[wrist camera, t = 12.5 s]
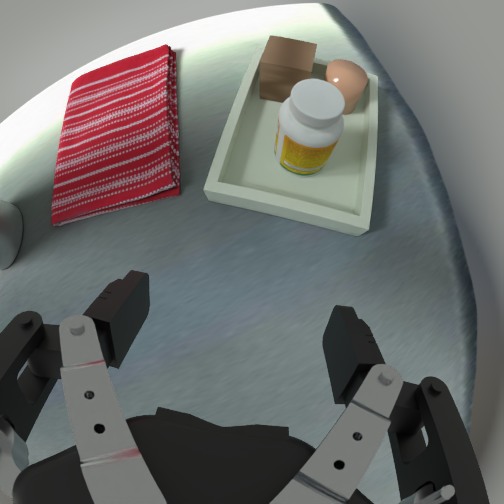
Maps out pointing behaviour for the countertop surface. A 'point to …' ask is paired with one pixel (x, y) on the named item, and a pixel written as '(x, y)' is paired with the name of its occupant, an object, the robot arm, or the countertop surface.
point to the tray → (283, 183)
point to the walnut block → (284, 67)
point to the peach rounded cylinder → (347, 81)
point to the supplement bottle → (309, 127)
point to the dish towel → (119, 138)
